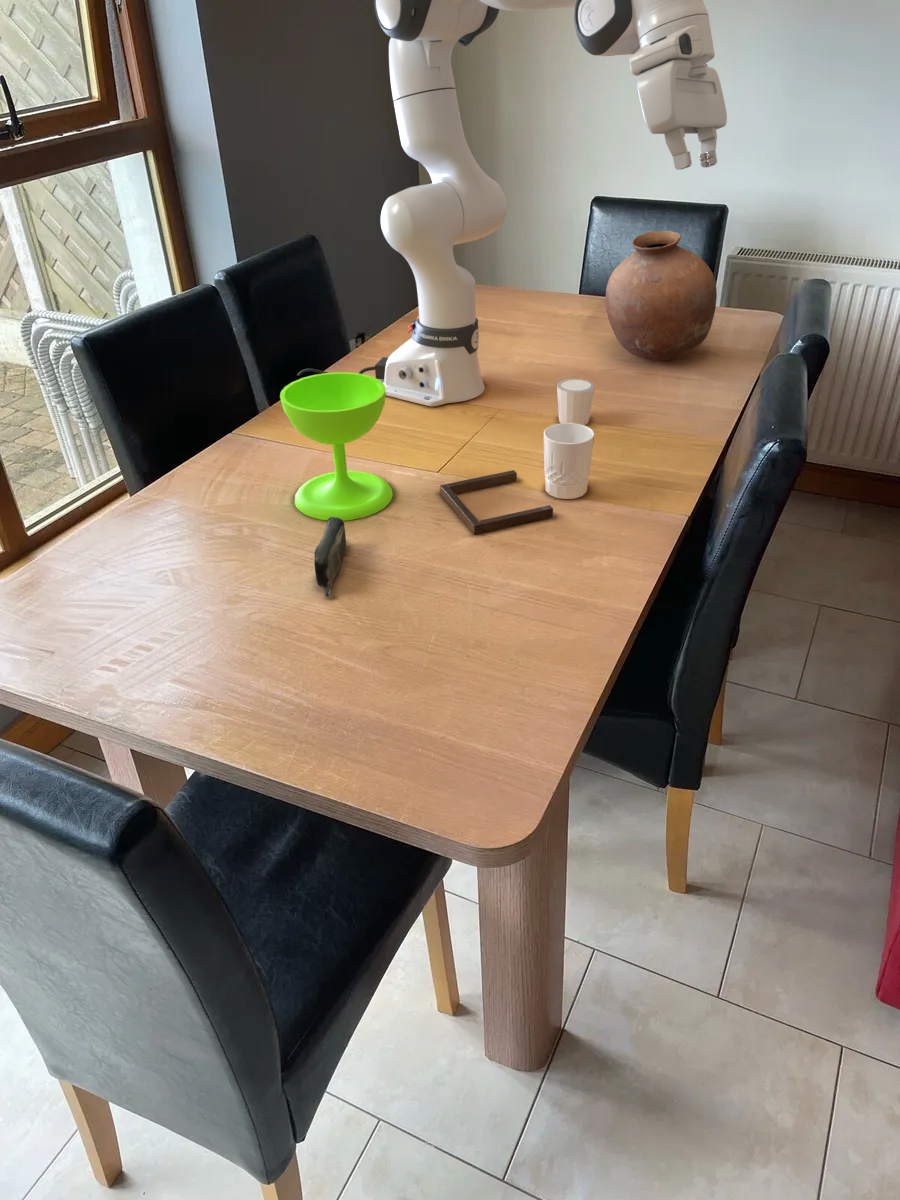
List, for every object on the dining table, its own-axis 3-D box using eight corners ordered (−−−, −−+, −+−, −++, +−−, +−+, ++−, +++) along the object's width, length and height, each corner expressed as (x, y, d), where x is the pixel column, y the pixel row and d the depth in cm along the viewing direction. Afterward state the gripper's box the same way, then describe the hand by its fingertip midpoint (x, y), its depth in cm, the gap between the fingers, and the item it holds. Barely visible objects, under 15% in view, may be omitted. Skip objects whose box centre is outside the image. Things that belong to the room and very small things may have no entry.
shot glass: (590, 429, 168) (593, 392, 164) (553, 426, 170) (554, 390, 166) (593, 414, 174) (595, 378, 170) (557, 412, 175) (558, 376, 171)
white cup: (594, 482, 151) (598, 425, 145) (584, 504, 145) (588, 446, 139) (548, 476, 153) (550, 420, 147) (536, 497, 147) (538, 440, 141)
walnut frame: (513, 478, 153) (513, 469, 152) (553, 517, 142) (553, 508, 141) (440, 493, 149) (439, 485, 148) (474, 535, 138) (474, 525, 137)
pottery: (722, 346, 202) (740, 227, 188) (685, 380, 187) (701, 253, 172) (626, 331, 213) (636, 217, 199) (583, 362, 197) (590, 240, 183)
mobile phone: (325, 514, 135) (308, 566, 122) (345, 513, 134) (331, 566, 122) (328, 543, 137) (312, 598, 125) (348, 543, 137) (334, 597, 125)
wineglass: (350, 465, 158) (340, 364, 148) (413, 495, 149) (407, 389, 139) (274, 497, 149) (258, 392, 139) (336, 531, 140) (323, 421, 129)
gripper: (684, 67, 128) (702, 172, 132) (622, 59, 113) (644, 177, 117) (728, 49, 124) (745, 157, 128) (670, 38, 109) (691, 161, 113)
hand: (697, 167), depth 122 cm, fingers open, 8 cm apart
